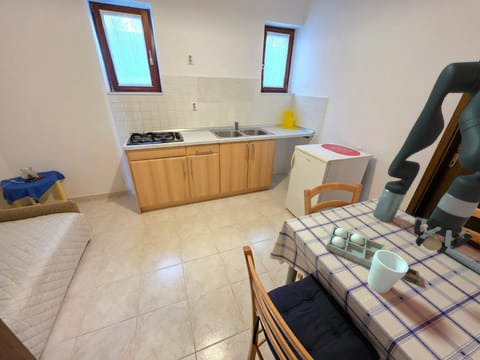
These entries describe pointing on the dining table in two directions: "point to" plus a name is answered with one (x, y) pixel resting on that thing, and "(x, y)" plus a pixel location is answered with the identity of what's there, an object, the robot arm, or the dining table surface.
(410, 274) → the egg stand
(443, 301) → the dining table surface
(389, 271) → the foam cup
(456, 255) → the kitchen whisk
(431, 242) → the beige sphere
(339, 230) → the cream egg
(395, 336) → the dining table surface
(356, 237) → the cream egg
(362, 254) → the egg carton
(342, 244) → the cream egg
